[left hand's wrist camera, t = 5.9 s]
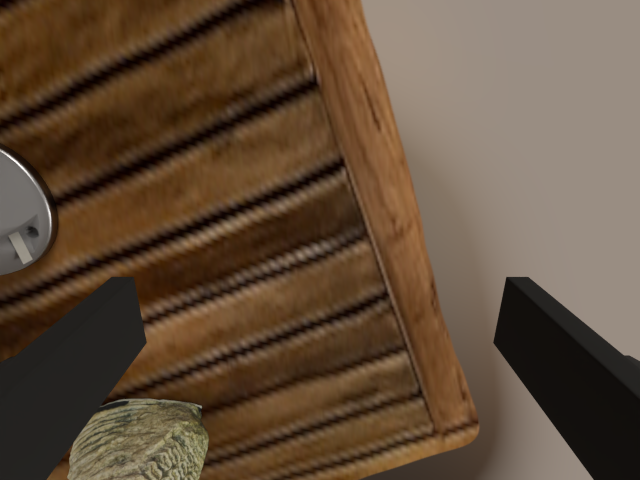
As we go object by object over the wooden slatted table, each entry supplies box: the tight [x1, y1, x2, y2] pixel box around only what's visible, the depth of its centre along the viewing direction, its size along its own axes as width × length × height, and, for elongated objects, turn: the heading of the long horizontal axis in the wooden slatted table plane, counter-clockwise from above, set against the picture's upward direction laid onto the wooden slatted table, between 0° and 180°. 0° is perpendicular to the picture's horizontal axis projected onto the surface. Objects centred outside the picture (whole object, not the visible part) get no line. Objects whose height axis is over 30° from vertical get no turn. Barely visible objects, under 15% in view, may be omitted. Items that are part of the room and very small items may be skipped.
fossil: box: [67, 399, 209, 480], centre depth 44 cm, size 9×18×15 cm, turn 106°
